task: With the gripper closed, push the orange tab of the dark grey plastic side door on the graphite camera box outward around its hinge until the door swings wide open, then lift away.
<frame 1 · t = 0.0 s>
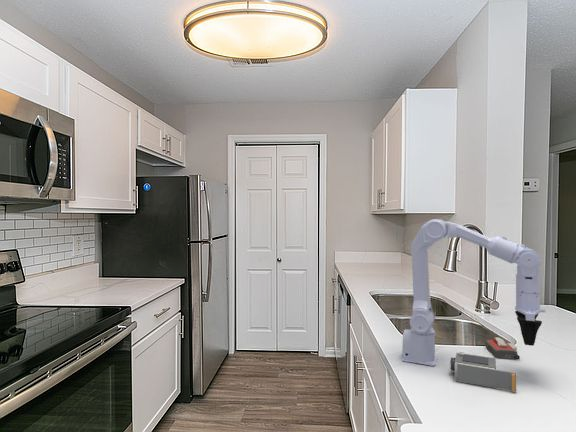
hand: (527, 340, 108), 10 cm above the worktop, tool pointing down, fingers open, 7 cm apart
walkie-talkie: (500, 351, 131), on the worktop
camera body: (475, 378, 108), on the worktop
side door: (484, 377, 102), point 3 cm above the worktop, hinge at 0.0°
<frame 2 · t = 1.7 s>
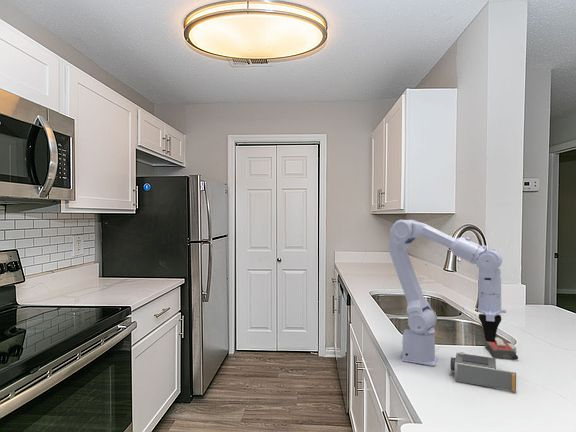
hand: (490, 341, 110), 10 cm above the worktop, tool pointing down, fingers closed
nothing on the worktop moved.
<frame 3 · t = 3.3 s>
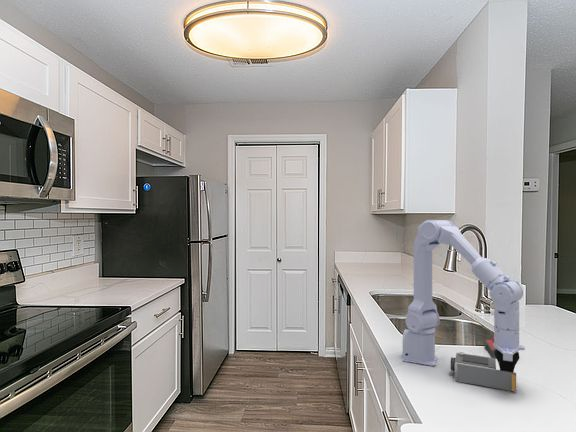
hand: (506, 379, 101), 2 cm above the worktop, tool pointing down, fingers closed
side door: (484, 377, 102), point 3 cm above the worktop, hinge at 0.3°, touching gripper
everything else where it was.
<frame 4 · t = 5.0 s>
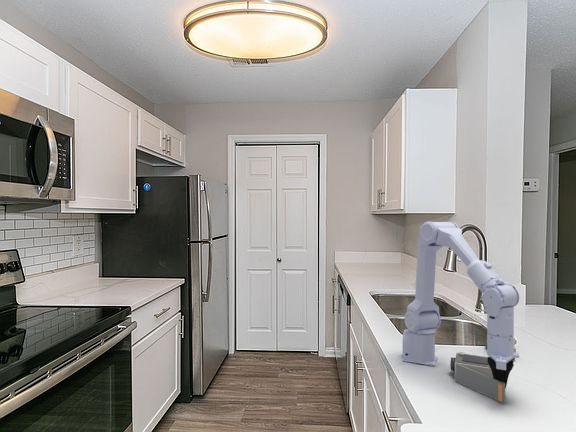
hand: (500, 389, 96), 2 cm above the worktop, tool pointing down, fingers closed
side door: (477, 381, 99), point 3 cm above the worktop, hinge at 37.6°, touching gripper
everything else where it was.
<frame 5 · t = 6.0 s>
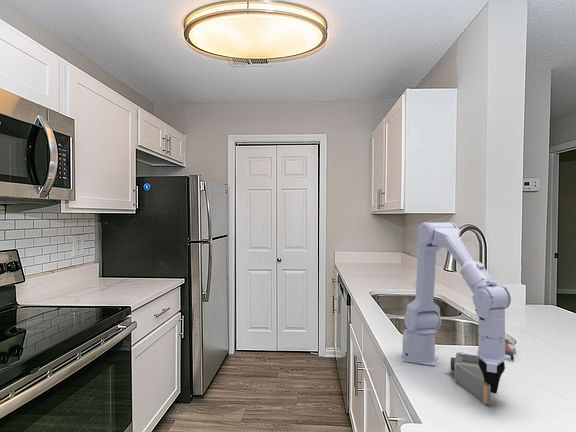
hand: (491, 392, 94), 2 cm above the worktop, tool pointing down, fingers closed
side door: (470, 382, 99), point 3 cm above the worktop, hinge at 55.4°, touching gripper
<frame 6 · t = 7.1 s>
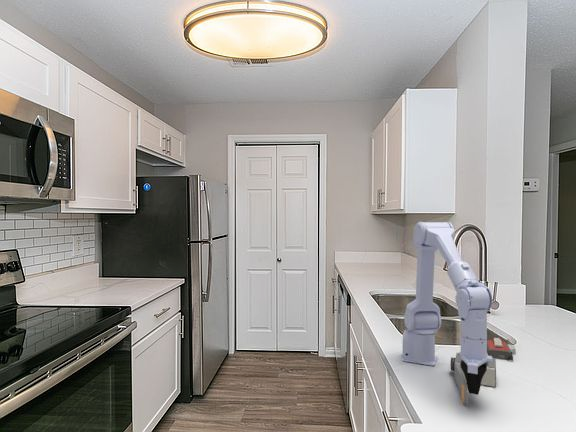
hand: (473, 393, 93), 2 cm above the worktop, tool pointing down, fingers closed, pressing on side door
side door: (459, 382, 99), point 3 cm above the worktop, hinge at 77.4°, touching gripper
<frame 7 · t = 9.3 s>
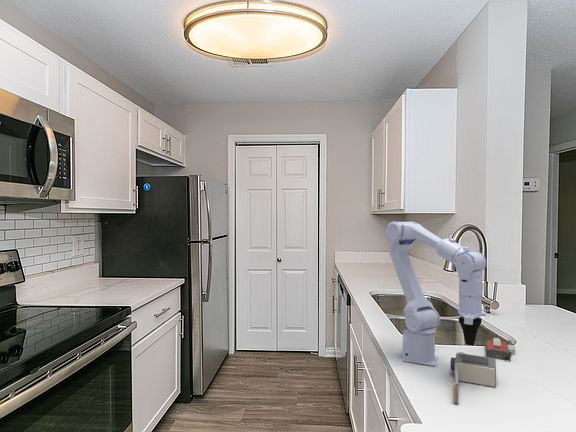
hand: (469, 344, 108), 9 cm above the worktop, tool pointing down, fingers closed
side door: (455, 381, 99), point 3 cm above the worktop, hinge at 85.4°
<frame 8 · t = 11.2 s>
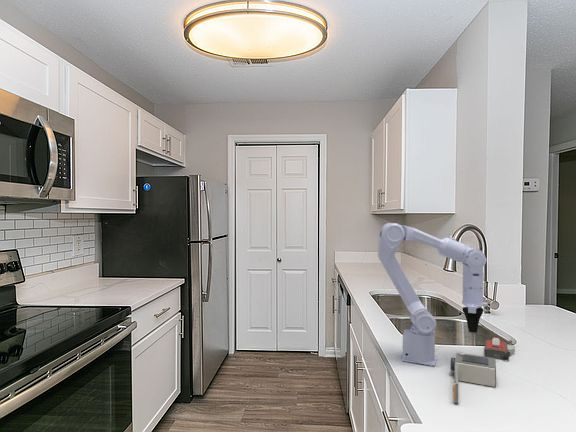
hand: (472, 331, 119), 9 cm above the worktop, tool pointing down, fingers closed
at the end: side door at +85° (first picture: +0°); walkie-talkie moved 1.4 cm from its start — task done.
